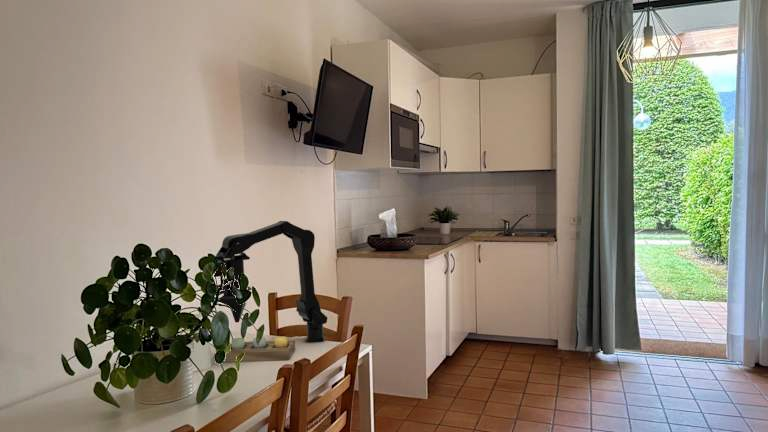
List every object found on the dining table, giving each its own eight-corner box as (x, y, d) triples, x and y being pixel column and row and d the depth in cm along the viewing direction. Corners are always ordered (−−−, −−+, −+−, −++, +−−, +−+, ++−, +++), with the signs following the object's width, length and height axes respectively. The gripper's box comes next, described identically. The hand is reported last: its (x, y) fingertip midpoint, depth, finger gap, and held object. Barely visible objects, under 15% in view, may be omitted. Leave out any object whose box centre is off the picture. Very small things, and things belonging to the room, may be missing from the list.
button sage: (233, 350, 177) (233, 338, 176) (246, 349, 177) (245, 337, 176) (230, 353, 173) (230, 341, 172) (242, 353, 173) (242, 341, 172)
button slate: (255, 349, 177) (254, 337, 176) (267, 348, 177) (266, 336, 176) (252, 352, 173) (251, 340, 172) (264, 352, 173) (264, 340, 172)
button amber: (276, 348, 177) (275, 336, 176) (288, 348, 177) (288, 336, 176) (273, 352, 173) (273, 340, 172) (286, 351, 173) (285, 339, 172)
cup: (215, 363, 168) (213, 312, 168) (204, 371, 160) (201, 318, 159) (190, 363, 169) (188, 312, 168) (178, 371, 161) (175, 319, 160)
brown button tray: (232, 351, 181) (232, 342, 181) (295, 349, 181) (294, 340, 181) (222, 362, 169) (222, 353, 169) (289, 360, 169) (288, 350, 169)
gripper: (218, 271, 183) (221, 316, 183) (200, 280, 164) (202, 330, 165) (251, 270, 183) (253, 315, 184) (236, 278, 164) (239, 329, 165)
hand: (237, 322), depth 174 cm, fingers closed
